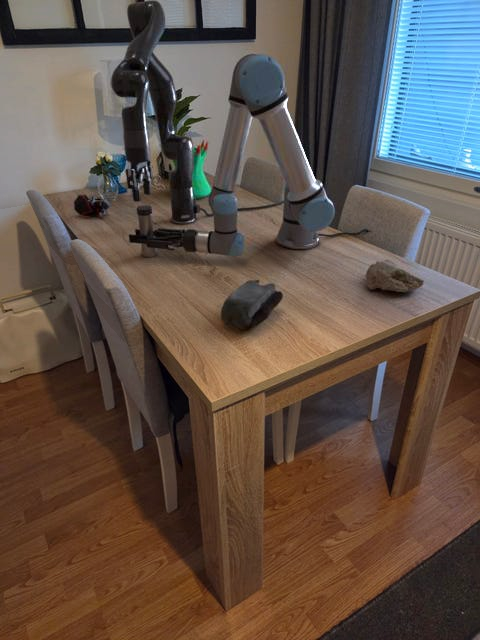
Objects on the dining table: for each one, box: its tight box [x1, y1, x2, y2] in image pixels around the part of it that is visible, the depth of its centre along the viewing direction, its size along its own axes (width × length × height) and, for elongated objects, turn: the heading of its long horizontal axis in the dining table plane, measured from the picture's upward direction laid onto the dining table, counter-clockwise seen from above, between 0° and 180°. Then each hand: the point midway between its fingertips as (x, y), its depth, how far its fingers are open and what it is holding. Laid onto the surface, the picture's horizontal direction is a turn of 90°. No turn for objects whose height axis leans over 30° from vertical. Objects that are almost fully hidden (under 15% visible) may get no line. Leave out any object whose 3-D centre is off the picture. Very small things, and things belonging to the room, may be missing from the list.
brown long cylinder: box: [137, 213, 157, 258], centre depth 151 cm, size 4×4×16 cm
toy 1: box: [73, 194, 111, 220], centre depth 187 cm, size 12×9×15 cm
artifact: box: [365, 259, 424, 293], centre depth 134 cm, size 18×8×15 cm
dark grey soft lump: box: [220, 279, 284, 332], centre depth 117 cm, size 18×11×8 cm, turn 152°
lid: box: [136, 204, 153, 216], centre depth 147 cm, size 5×5×2 cm
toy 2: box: [168, 137, 212, 200], centre depth 210 cm, size 20×20×25 cm
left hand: (142, 197), depth 145 cm, fingers open, 7 cm apart
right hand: (132, 235), depth 153 cm, fingers closed on brown long cylinder, 4 cm apart
